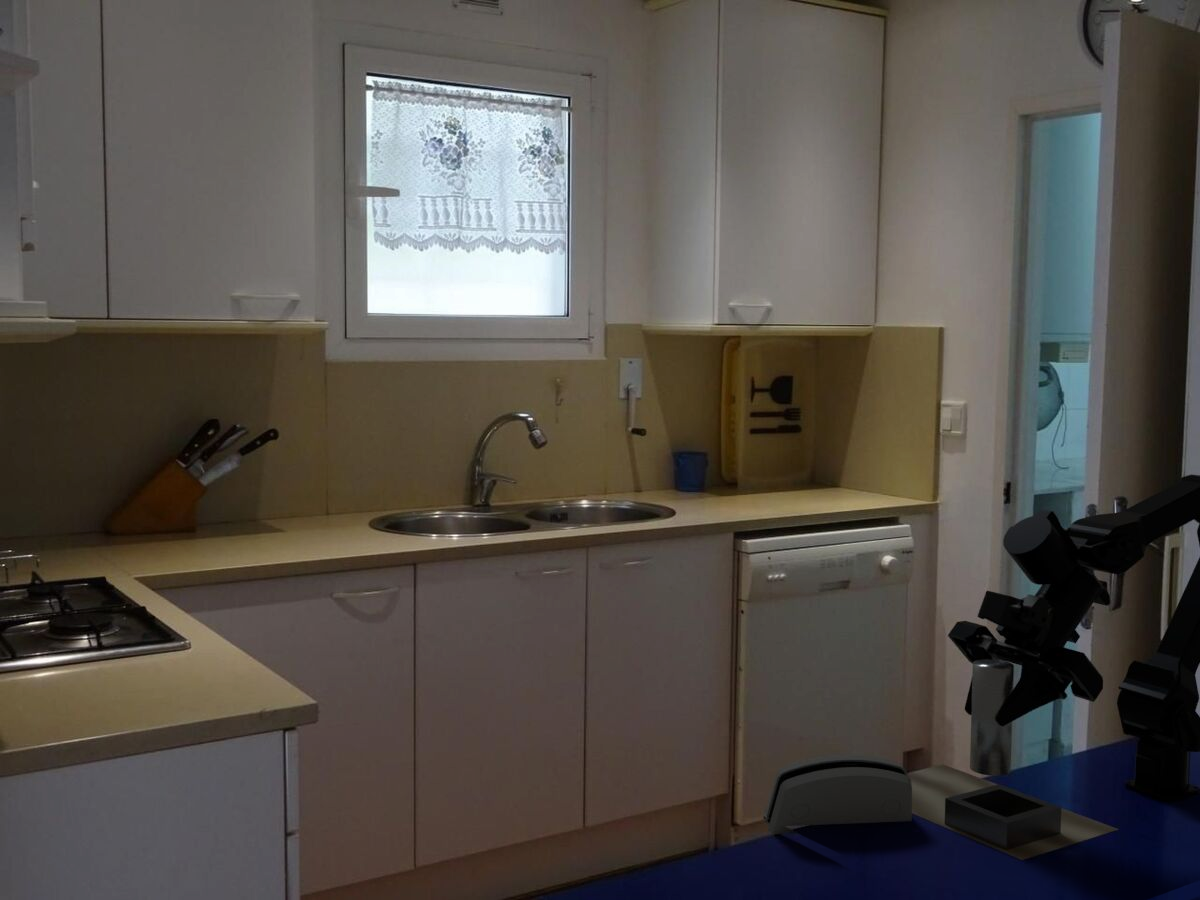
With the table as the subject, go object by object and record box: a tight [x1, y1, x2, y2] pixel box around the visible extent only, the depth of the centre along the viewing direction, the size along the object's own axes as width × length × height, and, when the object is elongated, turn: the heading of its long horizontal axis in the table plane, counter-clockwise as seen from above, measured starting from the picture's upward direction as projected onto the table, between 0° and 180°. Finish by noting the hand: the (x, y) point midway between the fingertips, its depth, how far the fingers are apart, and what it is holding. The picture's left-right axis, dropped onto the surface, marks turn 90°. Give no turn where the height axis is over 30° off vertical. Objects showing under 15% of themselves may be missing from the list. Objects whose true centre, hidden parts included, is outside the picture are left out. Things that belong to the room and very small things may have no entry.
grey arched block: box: [762, 754, 913, 835], centre depth 153 cm, size 17×5×10 cm, turn 97°
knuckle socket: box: [945, 783, 1063, 850], centre depth 150 cm, size 9×9×3 cm
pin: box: [969, 659, 1015, 777], centre depth 150 cm, size 4×4×12 cm
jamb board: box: [907, 763, 1120, 861], centre depth 157 cm, size 16×26×1 cm, turn 33°
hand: (982, 718), depth 149 cm, fingers closed on pin, 4 cm apart
